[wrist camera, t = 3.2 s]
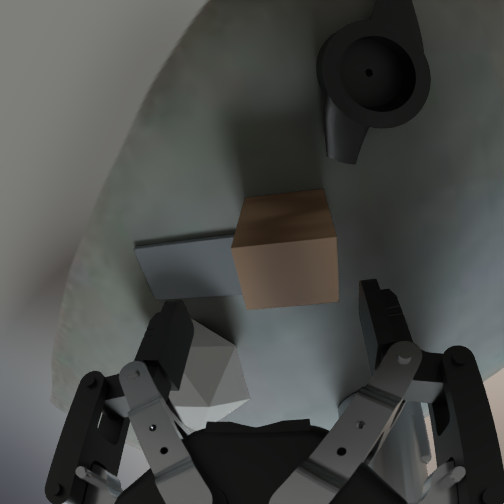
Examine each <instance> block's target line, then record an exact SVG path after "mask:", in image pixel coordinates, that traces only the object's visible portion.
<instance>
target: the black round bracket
mask: <svg viewBox="0 0 504 504" xmlns="http://www.w3.org/2000/svg"><path fill="white" fill-rule="evenodd" d="M316 68H317V78H318V81H319V84H320V87H321V89H322V91H323V93H324V95H325V96H326V101H325V110H324V128H325V142H326V153H327V156H328V157H330V158H332V159H334V160H337V161H340V162H344V163H348V164H356V161H357V157H358V154H359V151H360V148H361V145H362V143H363V140H364V138H365V135H366V133H367V131H368V128H369V127H373V128H391V127H396V126H399V125H402V124H404V123H406V122H408V121H409V120H411V119H412V118H413V117H414V116H416V115H417V114H418V112H419V111H420V110H421V109H422V107H423V106H424V104H425V102H426V100H427V97H428V94H429V90H430V82H431V78H430V69H429V65H428V62H427V59H426V57H425V55H424V50H423V43H422V38H421V33H420V29H419V25H418V21H417V17H416V14H415V10H414V7H413V3H412V0H376V3H375V7H374V10H373V13H372V16H371V18H370V20H363V21H358V22H354V23H351V24H349V25H347V26H345V27H344V28H342V29H340V30H339V31H337V32H336V33H334V34H333V35H332V36H330V37H329V38H328V39H327V40H326V42H325V43H324V44H323V46H322V48H321V50H320V52H319V55H318V59H317V67H316ZM367 69H368V70H369V71H370V75H369V76H367V75H366V74H365V71H366V70H367Z"/></svg>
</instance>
